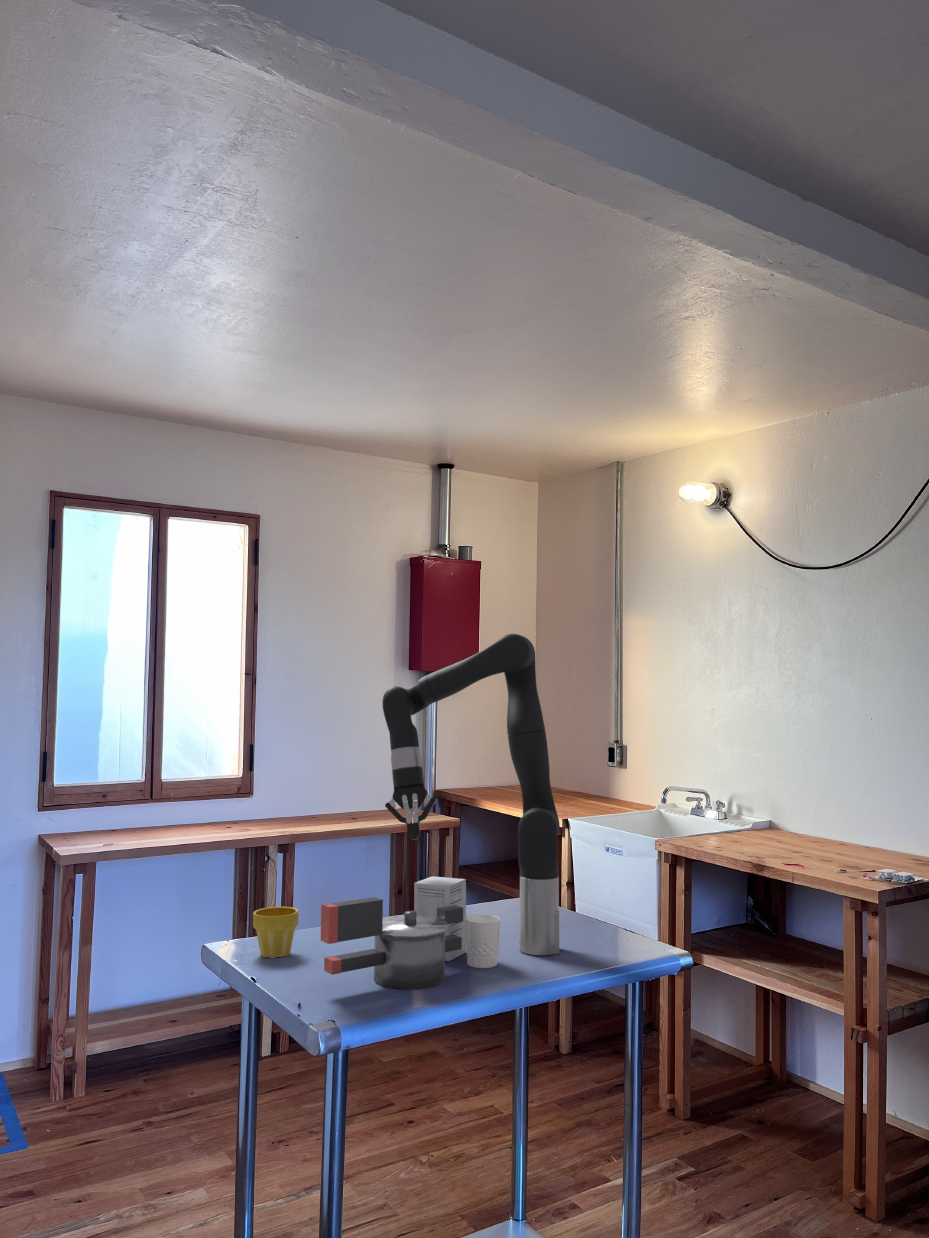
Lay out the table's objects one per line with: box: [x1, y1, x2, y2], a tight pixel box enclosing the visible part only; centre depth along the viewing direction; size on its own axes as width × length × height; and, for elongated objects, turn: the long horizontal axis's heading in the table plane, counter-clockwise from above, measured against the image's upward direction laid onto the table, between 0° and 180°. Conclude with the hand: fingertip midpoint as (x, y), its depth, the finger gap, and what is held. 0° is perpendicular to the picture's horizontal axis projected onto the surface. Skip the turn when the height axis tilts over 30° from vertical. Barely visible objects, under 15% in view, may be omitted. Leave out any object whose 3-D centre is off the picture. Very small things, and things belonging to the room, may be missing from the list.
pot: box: [323, 932, 462, 991], centre depth 191 cm, size 27×23×10 cm
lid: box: [320, 896, 463, 945], centre depth 192 cm, size 33×16×7 cm, turn 127°
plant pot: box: [252, 906, 299, 959], centre depth 211 cm, size 10×10×10 cm
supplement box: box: [413, 875, 467, 962], centre depth 212 cm, size 10×9×17 cm
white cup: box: [465, 913, 501, 969], centre depth 204 cm, size 8×8×10 cm
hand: (414, 839), depth 220 cm, fingers closed
